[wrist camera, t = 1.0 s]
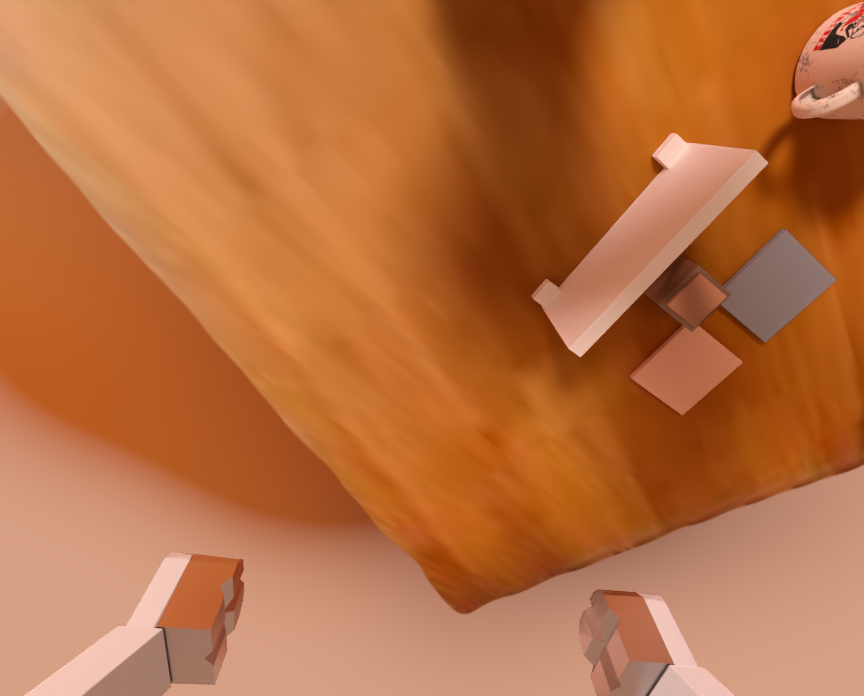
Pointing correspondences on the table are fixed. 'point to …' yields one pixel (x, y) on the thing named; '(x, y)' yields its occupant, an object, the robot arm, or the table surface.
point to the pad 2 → (775, 286)
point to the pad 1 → (685, 368)
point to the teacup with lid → (833, 69)
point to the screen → (647, 237)
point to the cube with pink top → (687, 292)
